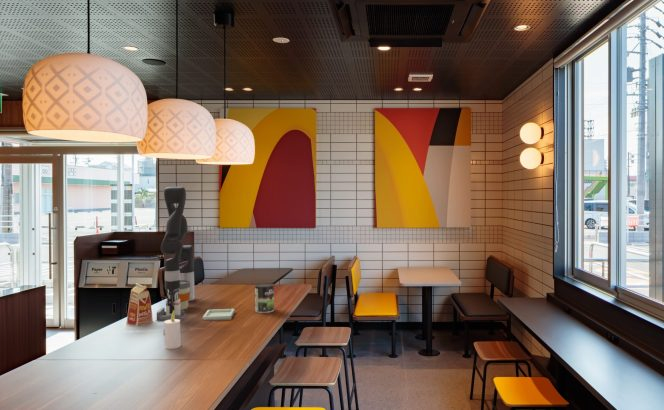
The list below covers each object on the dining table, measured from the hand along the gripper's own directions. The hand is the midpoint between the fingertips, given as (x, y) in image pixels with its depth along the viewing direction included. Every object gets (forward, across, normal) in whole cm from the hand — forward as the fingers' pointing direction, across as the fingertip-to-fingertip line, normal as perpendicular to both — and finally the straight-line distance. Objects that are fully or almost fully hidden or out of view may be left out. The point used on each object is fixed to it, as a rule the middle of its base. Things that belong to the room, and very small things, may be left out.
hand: (173, 311), depth 220 cm
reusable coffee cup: (+4, -19, -2) cm, 19 cm away
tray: (+3, 0, +23) cm, 23 cm away
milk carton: (+4, +7, -14) cm, 16 cm away
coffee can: (+4, -8, +46) cm, 47 cm away
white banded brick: (+3, 0, 0) cm, 3 cm away
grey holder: (+3, 0, -1) cm, 4 cm away
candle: (+4, +43, +11) cm, 45 cm away
